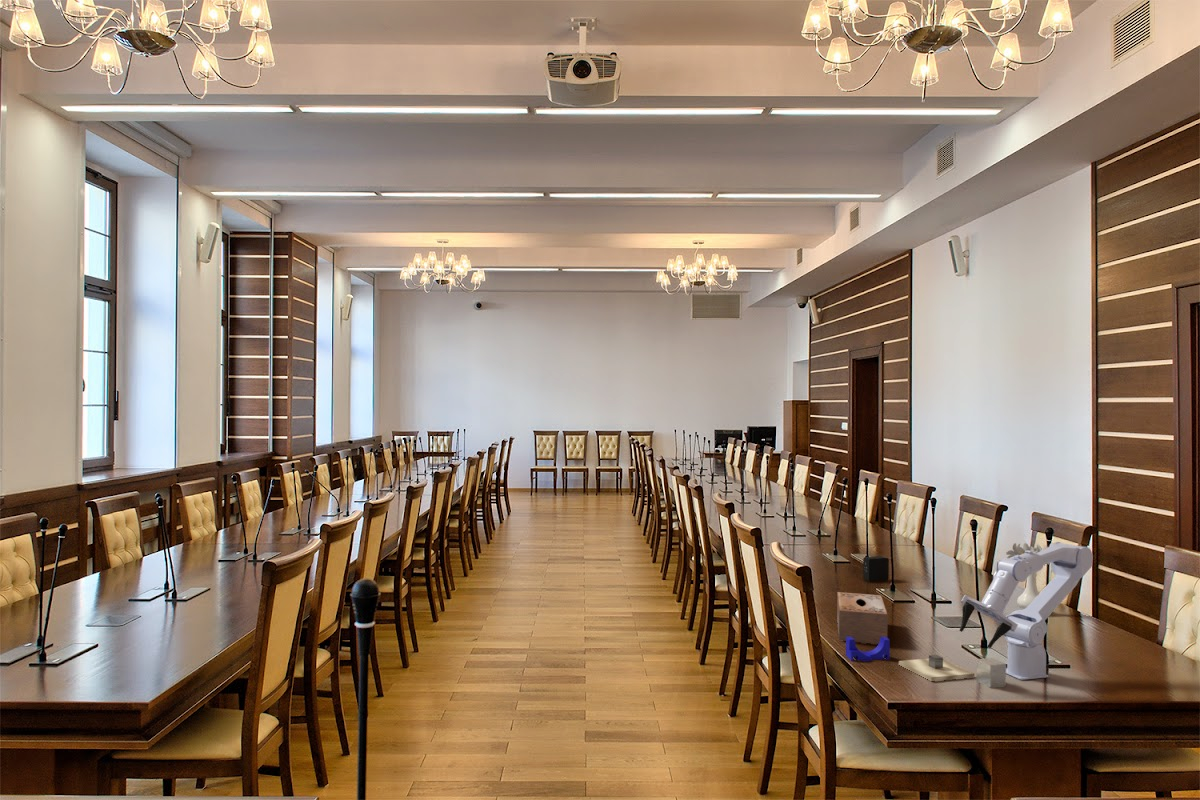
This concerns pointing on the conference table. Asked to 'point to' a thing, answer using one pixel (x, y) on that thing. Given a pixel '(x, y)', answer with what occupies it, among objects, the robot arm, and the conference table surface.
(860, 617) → the tissue box cover
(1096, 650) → the conference table surface
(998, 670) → the brushed grey cube
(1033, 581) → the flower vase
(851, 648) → the cable clip
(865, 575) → the electronic device
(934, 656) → the post
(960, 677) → the board
